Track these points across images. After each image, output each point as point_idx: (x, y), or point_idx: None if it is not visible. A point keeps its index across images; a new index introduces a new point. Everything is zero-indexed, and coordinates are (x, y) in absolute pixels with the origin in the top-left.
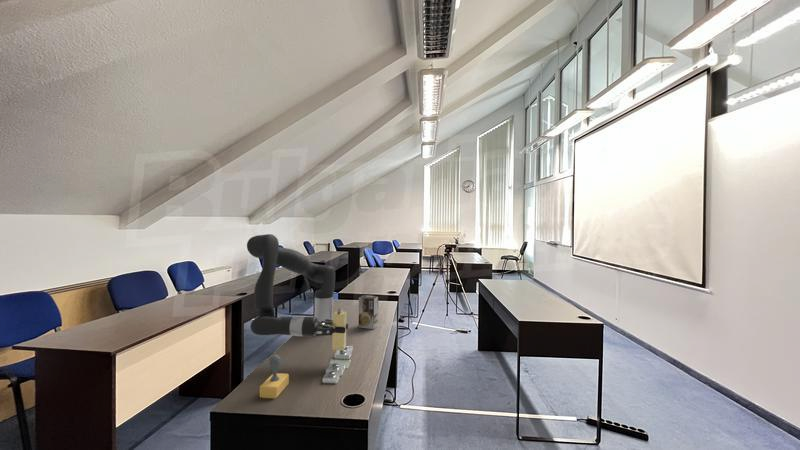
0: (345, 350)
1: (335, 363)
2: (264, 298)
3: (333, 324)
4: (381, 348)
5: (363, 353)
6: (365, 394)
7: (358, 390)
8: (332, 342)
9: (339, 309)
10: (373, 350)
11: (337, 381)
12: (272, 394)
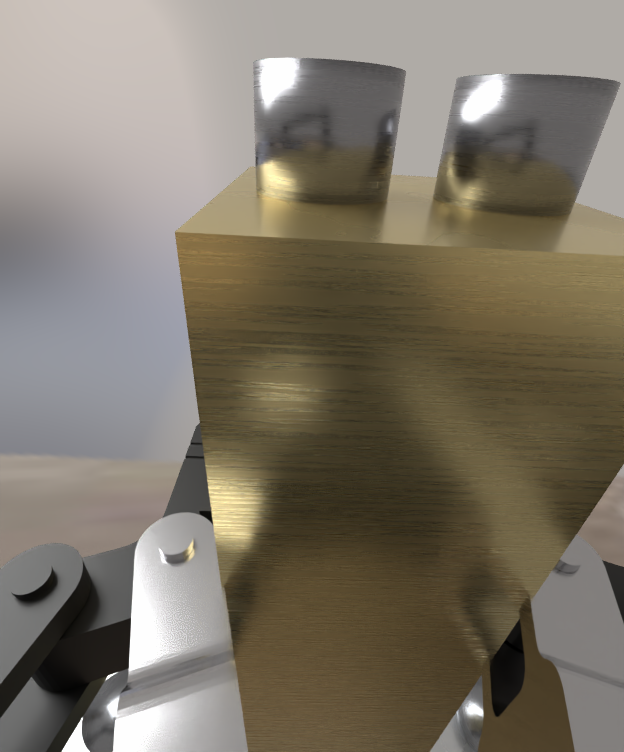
0: (127, 679)
1: (470, 724)
2: None
3: (548, 545)
4: (52, 456)
5: (100, 552)
6: (620, 493)
7: (611, 525)
8: (438, 735)
9: (404, 73)
10: (67, 495)
11: None
12: None
